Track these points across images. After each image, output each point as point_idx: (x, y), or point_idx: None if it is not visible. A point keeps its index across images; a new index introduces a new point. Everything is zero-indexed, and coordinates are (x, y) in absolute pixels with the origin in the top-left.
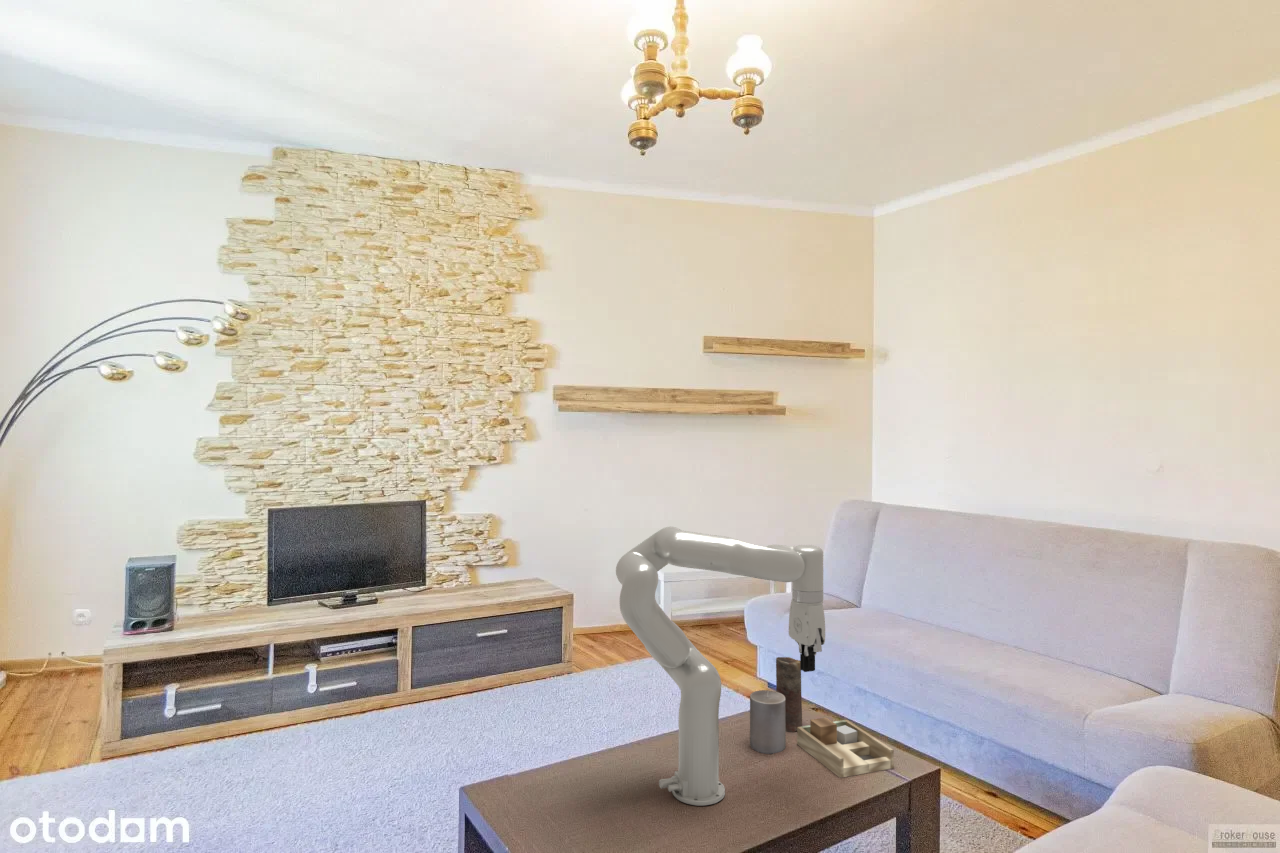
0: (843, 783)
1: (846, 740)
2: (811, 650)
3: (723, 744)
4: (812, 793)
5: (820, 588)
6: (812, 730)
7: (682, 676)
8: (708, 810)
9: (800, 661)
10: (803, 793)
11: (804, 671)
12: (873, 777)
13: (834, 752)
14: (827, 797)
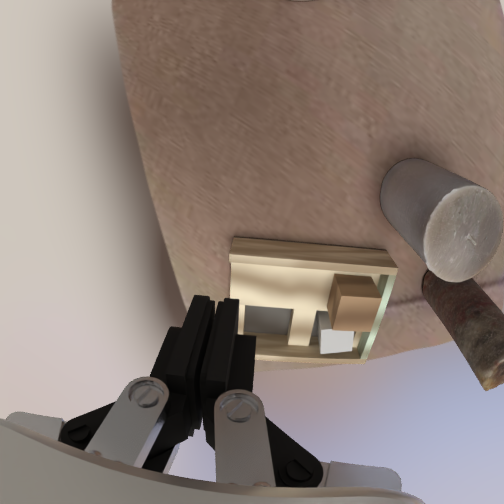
0: (218, 231)
1: (319, 324)
2: (69, 423)
3: (456, 120)
4: (205, 152)
5: None
6: (368, 286)
7: None
8: None
9: (229, 334)
10: (212, 135)
11: (196, 297)
12: (218, 291)
13: (259, 262)
14: (182, 170)
